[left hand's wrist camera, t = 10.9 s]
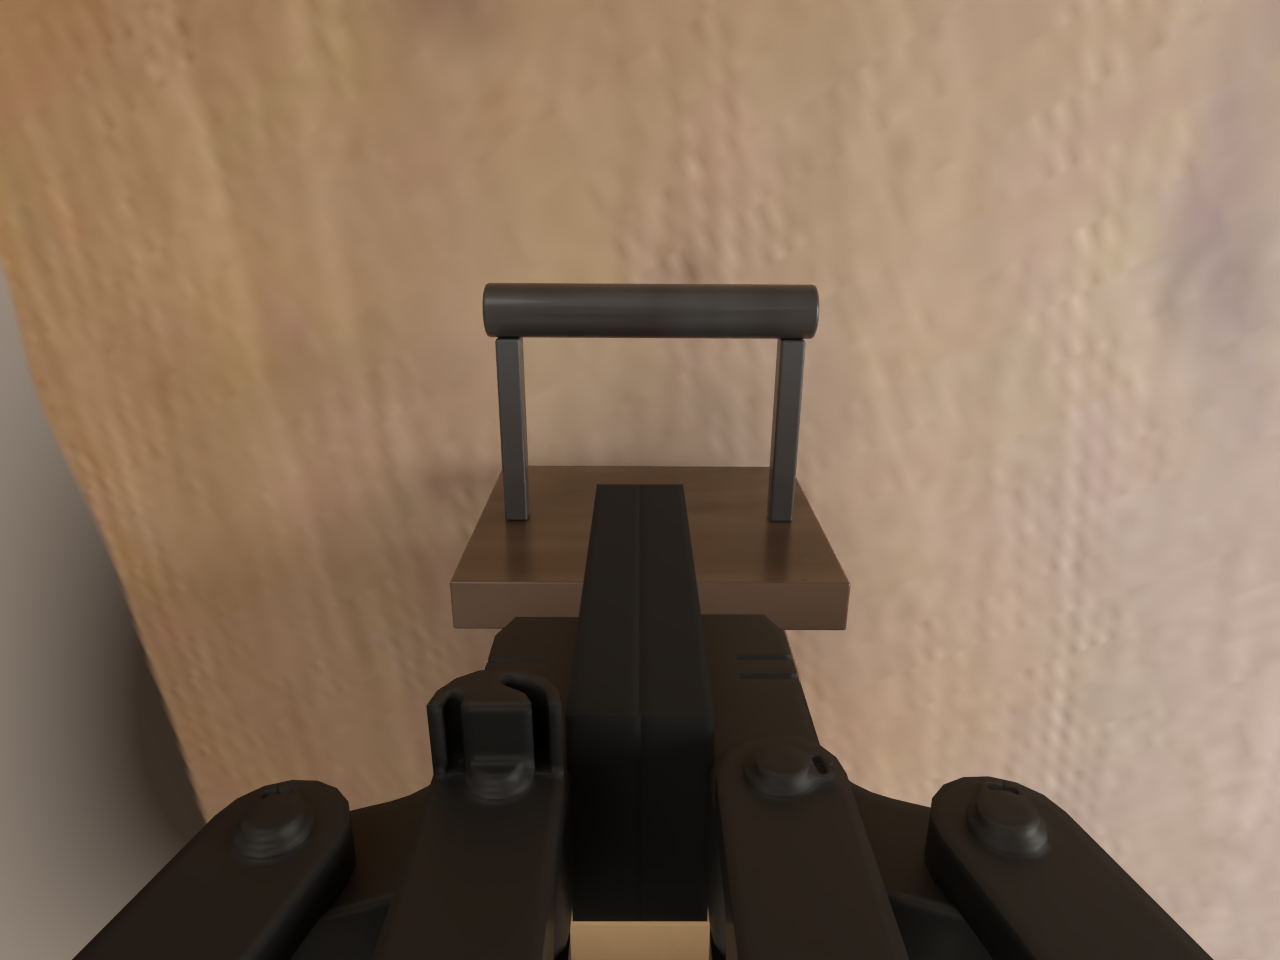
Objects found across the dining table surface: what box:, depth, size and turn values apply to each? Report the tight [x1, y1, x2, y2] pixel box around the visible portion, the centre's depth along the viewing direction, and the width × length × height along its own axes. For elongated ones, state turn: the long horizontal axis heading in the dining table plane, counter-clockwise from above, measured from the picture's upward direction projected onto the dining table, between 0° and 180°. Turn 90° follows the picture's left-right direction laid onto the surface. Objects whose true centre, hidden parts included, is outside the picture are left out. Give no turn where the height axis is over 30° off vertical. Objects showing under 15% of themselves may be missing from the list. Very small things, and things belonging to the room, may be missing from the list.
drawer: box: [450, 283, 850, 683], centre depth 24 cm, size 22×9×8 cm, turn 0°
